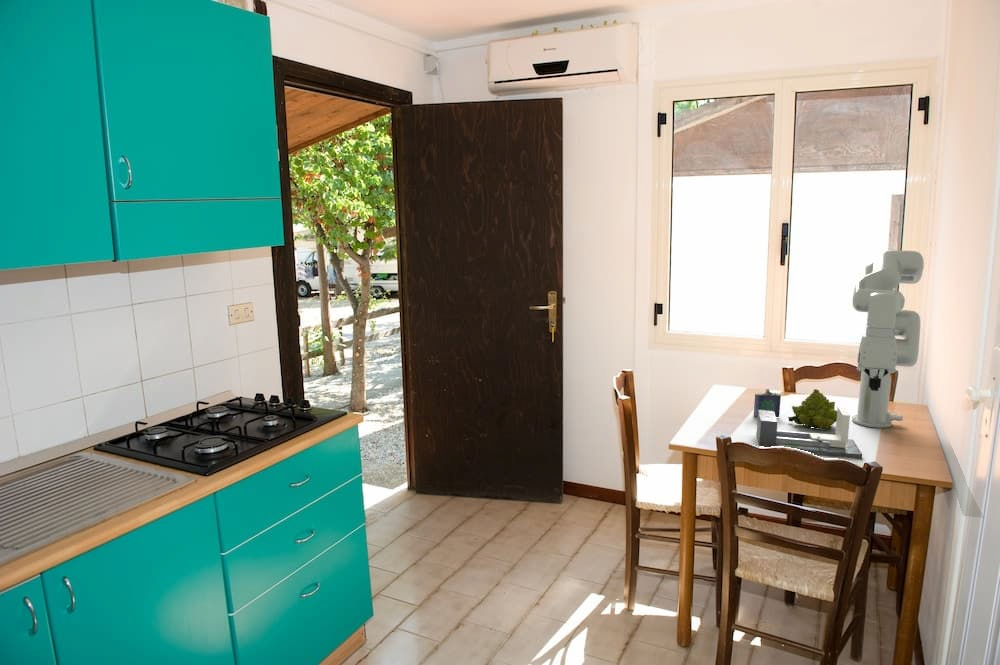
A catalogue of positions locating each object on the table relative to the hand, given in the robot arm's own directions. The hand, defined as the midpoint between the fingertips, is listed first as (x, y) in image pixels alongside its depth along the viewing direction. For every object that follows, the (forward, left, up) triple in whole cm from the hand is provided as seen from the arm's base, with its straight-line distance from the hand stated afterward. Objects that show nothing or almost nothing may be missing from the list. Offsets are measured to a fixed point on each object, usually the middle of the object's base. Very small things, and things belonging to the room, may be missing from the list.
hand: (874, 389), depth 207 cm
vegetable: (+12, -23, -21) cm, 33 cm away
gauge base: (+18, 0, -21) cm, 27 cm away
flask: (+28, -30, -21) cm, 46 cm away
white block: (+12, +1, -19) cm, 23 cm away
